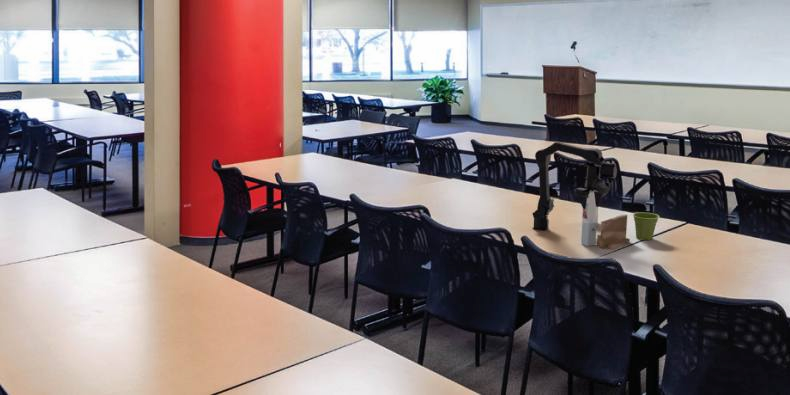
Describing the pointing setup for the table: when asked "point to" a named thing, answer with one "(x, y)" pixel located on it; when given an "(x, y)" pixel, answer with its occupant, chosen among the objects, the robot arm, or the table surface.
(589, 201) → the milk bottle
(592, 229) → the pale blue beveled prism
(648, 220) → the plant pot
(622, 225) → the brown angular stand
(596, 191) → the robot arm
